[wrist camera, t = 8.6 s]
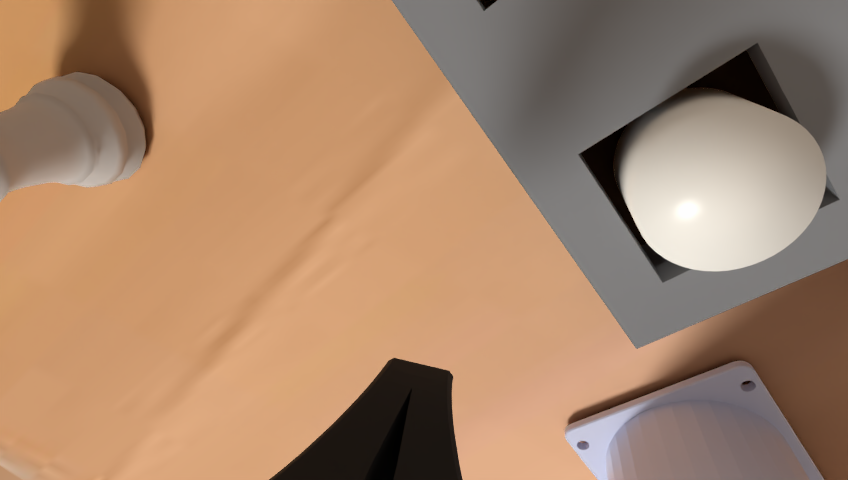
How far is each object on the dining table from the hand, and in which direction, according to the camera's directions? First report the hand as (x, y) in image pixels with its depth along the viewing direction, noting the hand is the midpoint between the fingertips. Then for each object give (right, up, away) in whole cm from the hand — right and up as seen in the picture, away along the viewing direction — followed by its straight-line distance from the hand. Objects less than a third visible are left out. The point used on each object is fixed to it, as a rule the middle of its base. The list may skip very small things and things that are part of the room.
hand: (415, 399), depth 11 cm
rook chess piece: (-13, +8, +10) cm, 18 cm away
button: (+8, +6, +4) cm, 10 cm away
